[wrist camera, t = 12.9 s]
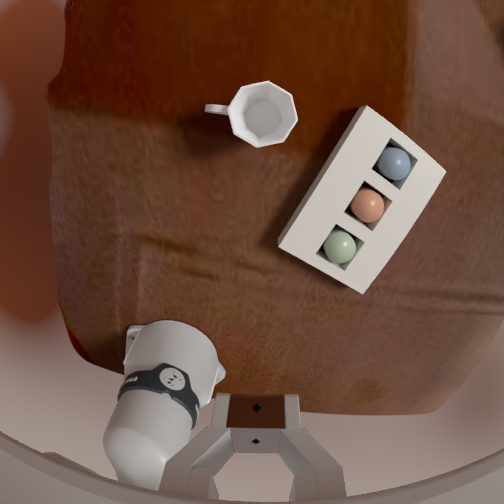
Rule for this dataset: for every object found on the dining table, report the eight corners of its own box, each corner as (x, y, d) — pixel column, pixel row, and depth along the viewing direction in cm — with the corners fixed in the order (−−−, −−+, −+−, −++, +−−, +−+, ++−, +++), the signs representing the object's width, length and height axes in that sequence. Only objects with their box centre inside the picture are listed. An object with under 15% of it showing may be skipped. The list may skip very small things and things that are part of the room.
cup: (286, 149, 36) (292, 153, 29) (207, 137, 36) (192, 139, 29) (295, 95, 33) (303, 87, 26) (216, 84, 33) (203, 73, 26)
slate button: (391, 181, 37) (400, 186, 34) (368, 165, 36) (376, 168, 33) (405, 158, 35) (415, 160, 32) (383, 140, 35) (392, 142, 32)
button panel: (357, 283, 43) (362, 294, 40) (277, 238, 41) (278, 246, 38) (435, 168, 35) (446, 171, 33) (359, 107, 33) (366, 105, 31)
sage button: (339, 259, 41) (344, 268, 38) (316, 245, 41) (319, 254, 38) (355, 236, 40) (361, 244, 37) (332, 221, 39) (337, 228, 36)
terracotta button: (365, 221, 39) (372, 228, 36) (342, 206, 38) (348, 212, 36) (381, 197, 37) (389, 202, 35) (358, 180, 37) (365, 185, 34)
